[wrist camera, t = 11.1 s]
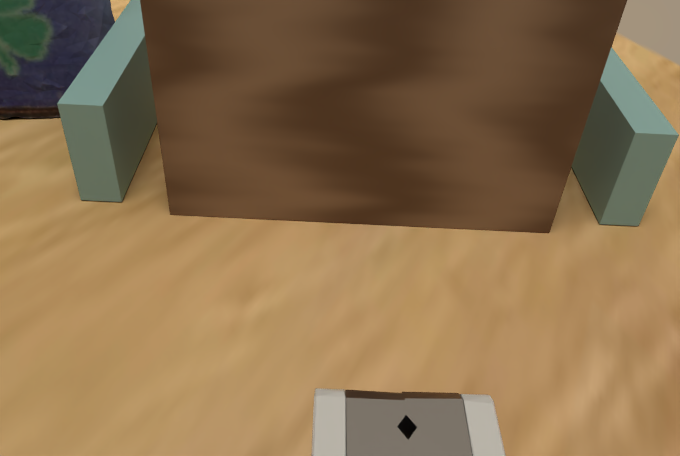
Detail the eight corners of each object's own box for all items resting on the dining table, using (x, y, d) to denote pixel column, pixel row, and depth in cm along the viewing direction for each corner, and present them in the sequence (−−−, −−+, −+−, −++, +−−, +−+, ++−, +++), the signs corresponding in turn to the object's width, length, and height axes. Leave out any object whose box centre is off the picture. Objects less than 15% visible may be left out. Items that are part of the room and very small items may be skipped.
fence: (81, 199, 24) (57, 103, 22) (163, 44, 35) (153, -32, 32) (638, 225, 25) (678, 134, 22) (548, 65, 36) (569, -8, 33)
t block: (170, 214, 24) (123, -120, 17) (220, 69, 33) (203, -185, 26) (549, 233, 24) (656, -87, 17) (493, 84, 33) (548, -163, 26)
